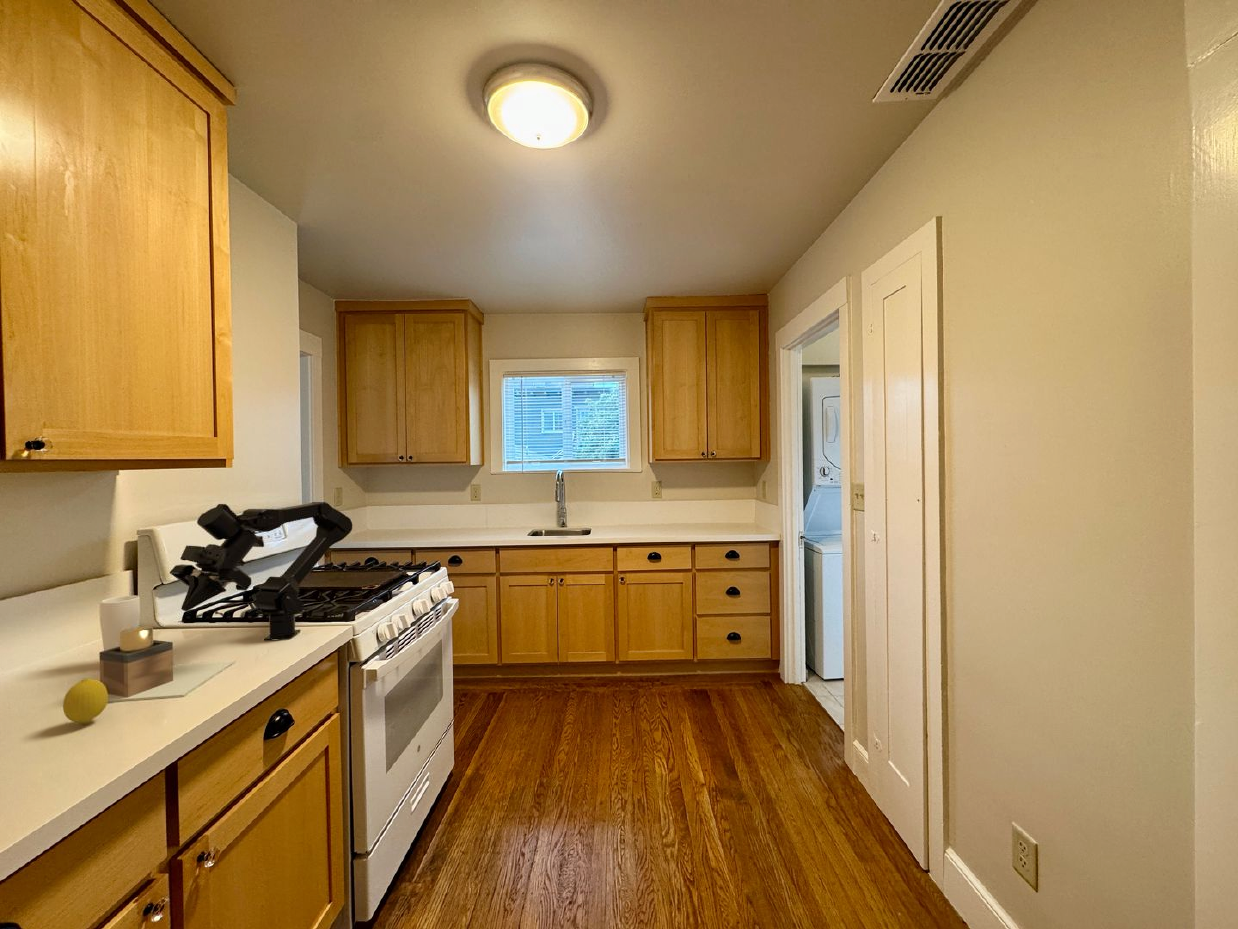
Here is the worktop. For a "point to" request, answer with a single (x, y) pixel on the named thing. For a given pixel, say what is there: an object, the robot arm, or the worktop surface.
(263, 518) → the robot arm
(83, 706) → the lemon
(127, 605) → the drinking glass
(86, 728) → the worktop surface
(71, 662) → the worktop surface
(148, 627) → the peg
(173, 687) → the mat
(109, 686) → the wooden box
